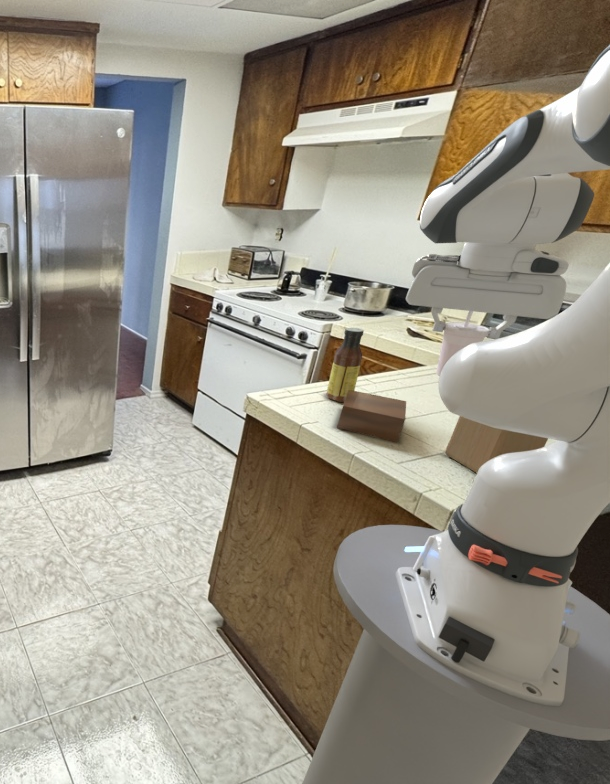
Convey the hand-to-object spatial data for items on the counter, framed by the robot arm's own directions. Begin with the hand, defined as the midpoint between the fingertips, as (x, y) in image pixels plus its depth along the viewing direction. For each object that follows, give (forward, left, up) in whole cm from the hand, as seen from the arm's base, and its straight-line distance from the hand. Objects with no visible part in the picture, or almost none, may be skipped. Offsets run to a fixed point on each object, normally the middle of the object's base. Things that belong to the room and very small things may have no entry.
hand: (464, 334), depth 86 cm
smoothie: (0, 0, -8) cm, 8 cm away
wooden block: (+10, -12, -30) cm, 33 cm away
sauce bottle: (+31, +17, -30) cm, 46 cm away
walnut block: (+17, +9, -29) cm, 35 cm away
